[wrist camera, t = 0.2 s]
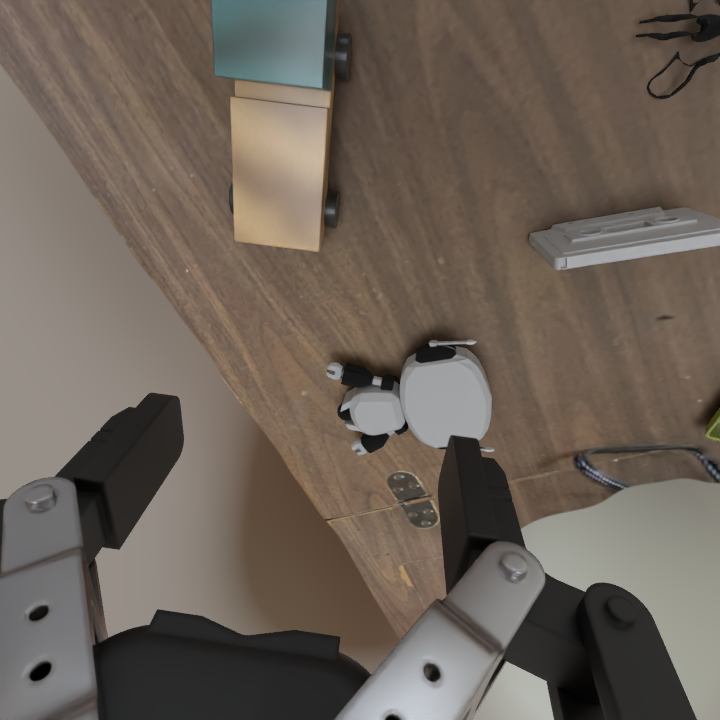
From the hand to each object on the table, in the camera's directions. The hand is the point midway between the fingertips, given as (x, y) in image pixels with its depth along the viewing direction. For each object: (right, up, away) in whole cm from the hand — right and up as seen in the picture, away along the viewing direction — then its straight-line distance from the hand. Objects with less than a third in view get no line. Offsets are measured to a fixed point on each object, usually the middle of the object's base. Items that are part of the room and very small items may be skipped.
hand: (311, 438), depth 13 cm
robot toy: (+7, -1, +33) cm, 33 cm away
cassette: (+21, +13, +24) cm, 35 cm away
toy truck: (-4, +20, +22) cm, 30 cm away
